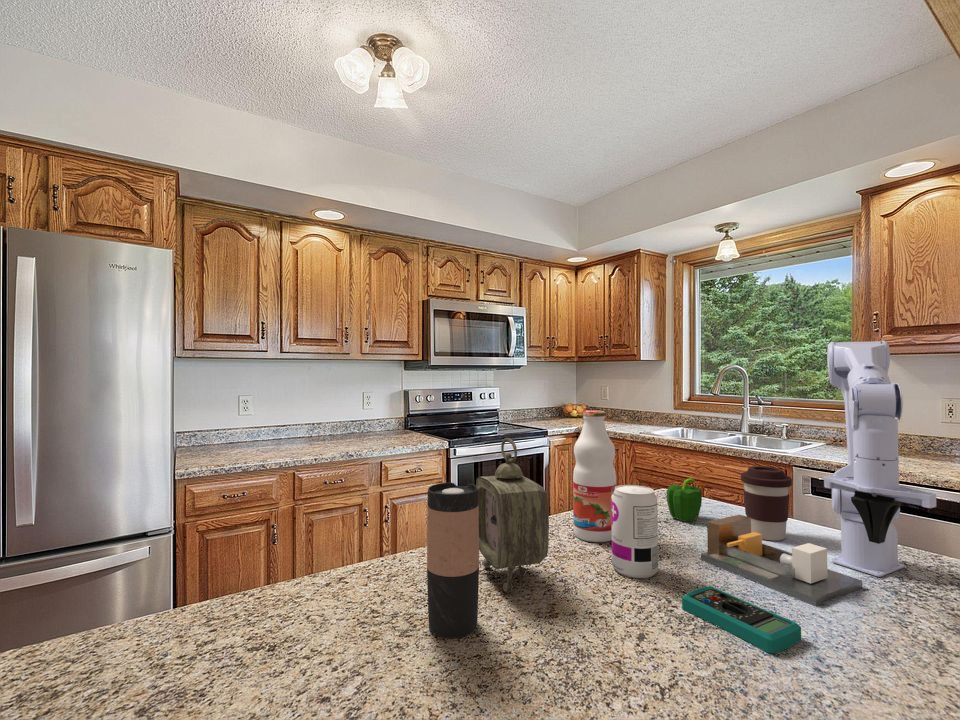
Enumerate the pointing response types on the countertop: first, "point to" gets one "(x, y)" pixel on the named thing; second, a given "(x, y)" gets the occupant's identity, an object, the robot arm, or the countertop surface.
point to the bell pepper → (684, 501)
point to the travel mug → (452, 559)
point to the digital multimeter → (742, 619)
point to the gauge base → (769, 564)
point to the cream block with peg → (807, 562)
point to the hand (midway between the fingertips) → (876, 541)
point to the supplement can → (634, 531)
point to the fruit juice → (593, 480)
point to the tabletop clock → (512, 519)
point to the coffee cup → (767, 500)
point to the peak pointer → (749, 543)
